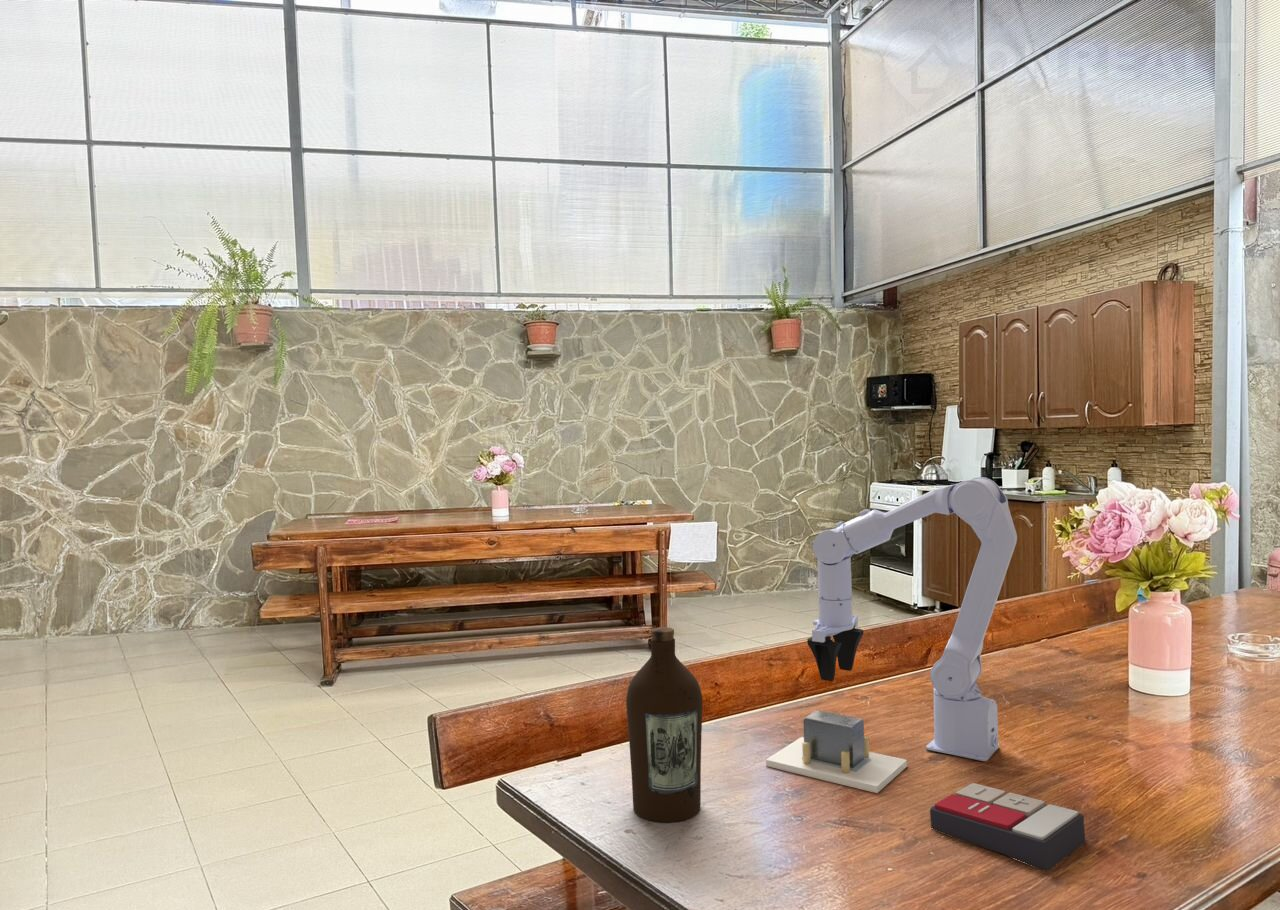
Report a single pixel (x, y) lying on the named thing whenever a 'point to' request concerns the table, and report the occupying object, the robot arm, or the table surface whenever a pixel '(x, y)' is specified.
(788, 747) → the cream pegged board
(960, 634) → the robot arm
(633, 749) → the olive oil
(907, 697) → the table surface
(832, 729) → the block
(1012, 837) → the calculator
